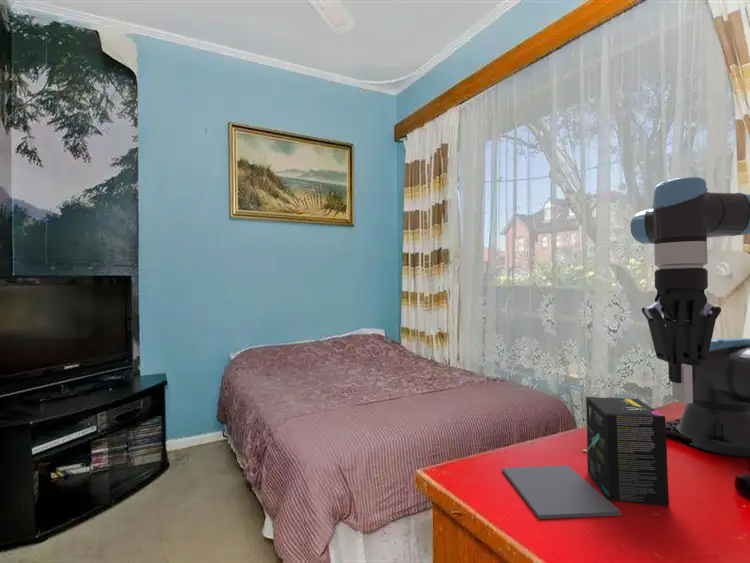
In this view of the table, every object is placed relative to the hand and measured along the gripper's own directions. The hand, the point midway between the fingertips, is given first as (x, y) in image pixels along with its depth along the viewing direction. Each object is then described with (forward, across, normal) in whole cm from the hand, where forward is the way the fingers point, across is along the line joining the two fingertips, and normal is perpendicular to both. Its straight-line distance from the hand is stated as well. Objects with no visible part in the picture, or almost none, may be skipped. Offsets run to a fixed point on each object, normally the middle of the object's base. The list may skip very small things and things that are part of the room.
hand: (682, 400), depth 72 cm
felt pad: (+15, +23, 0) cm, 28 cm away
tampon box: (+15, +11, 0) cm, 19 cm away
